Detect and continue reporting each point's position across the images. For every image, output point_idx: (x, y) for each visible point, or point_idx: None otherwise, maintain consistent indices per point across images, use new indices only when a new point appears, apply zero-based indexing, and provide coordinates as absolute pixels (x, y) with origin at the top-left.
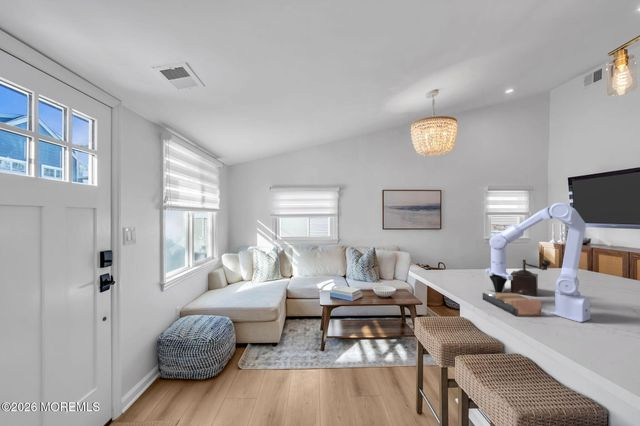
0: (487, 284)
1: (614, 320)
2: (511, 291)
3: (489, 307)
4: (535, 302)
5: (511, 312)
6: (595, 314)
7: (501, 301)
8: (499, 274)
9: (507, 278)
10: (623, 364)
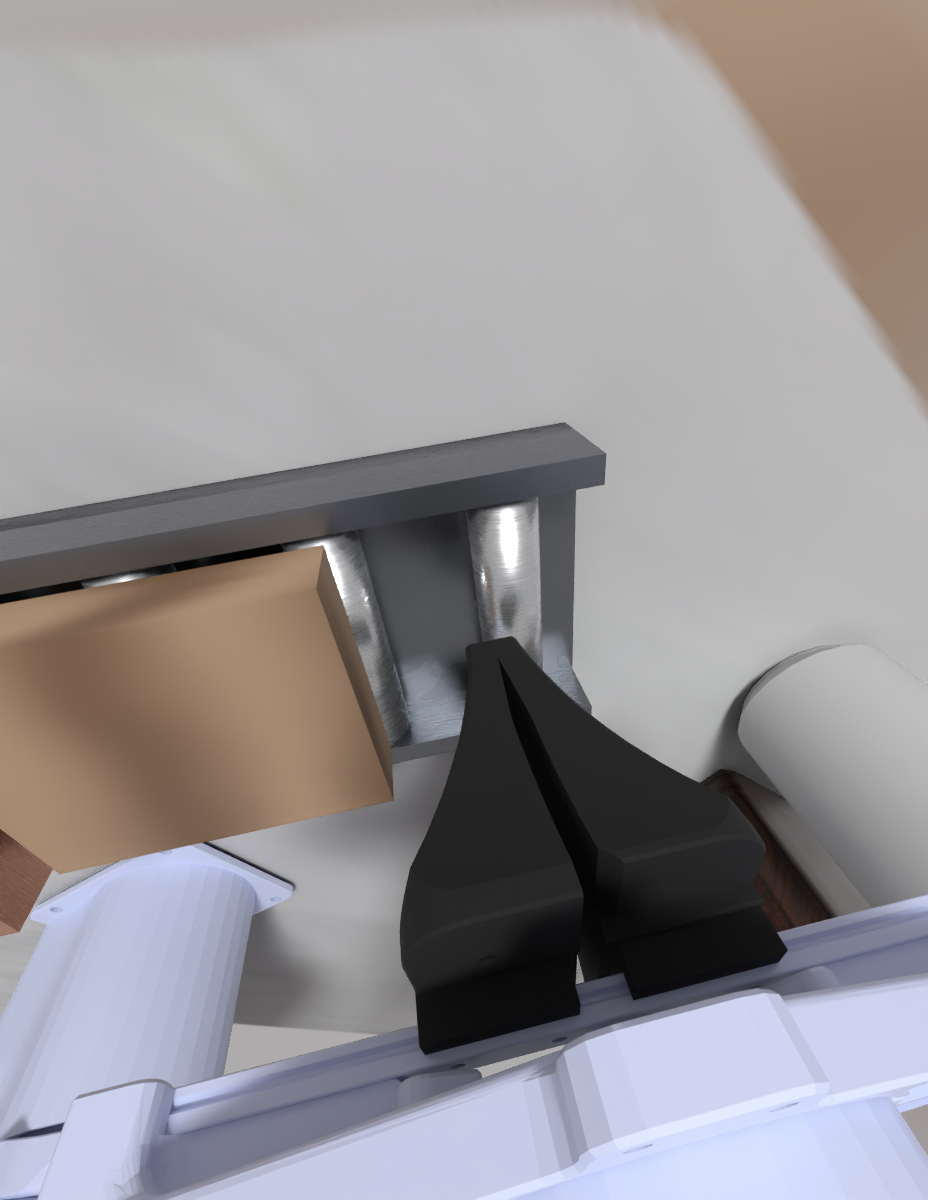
0: (908, 677)
1: None
2: (722, 781)
3: (152, 330)
4: None
5: None
6: (280, 966)
7: (117, 551)
8: (329, 1196)
9: (85, 1157)
10: None
